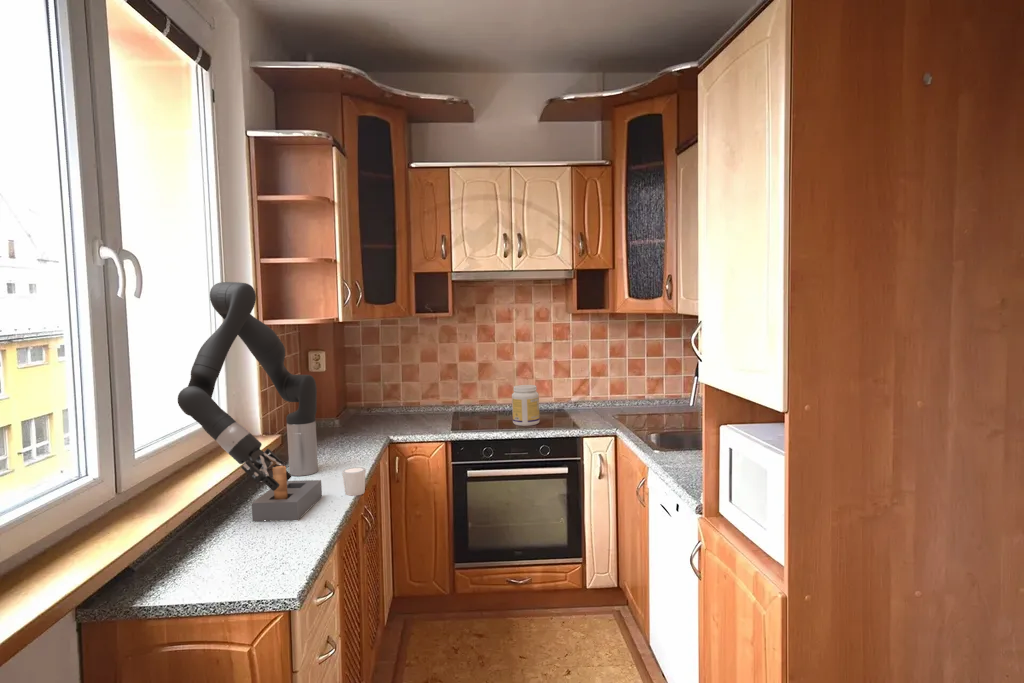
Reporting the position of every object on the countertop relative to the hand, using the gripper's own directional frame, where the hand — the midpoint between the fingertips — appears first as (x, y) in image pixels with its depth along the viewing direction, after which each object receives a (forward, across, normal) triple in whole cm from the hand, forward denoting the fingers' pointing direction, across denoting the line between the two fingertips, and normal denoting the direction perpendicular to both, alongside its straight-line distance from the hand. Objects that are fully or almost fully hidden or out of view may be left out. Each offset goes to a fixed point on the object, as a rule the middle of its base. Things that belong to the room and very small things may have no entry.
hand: (283, 483), depth 172 cm
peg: (+5, 0, +6) cm, 8 cm away
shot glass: (+16, +18, -4) cm, 25 cm away
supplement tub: (+53, +115, -40) cm, 132 cm away
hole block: (+6, +5, +7) cm, 10 cm away
